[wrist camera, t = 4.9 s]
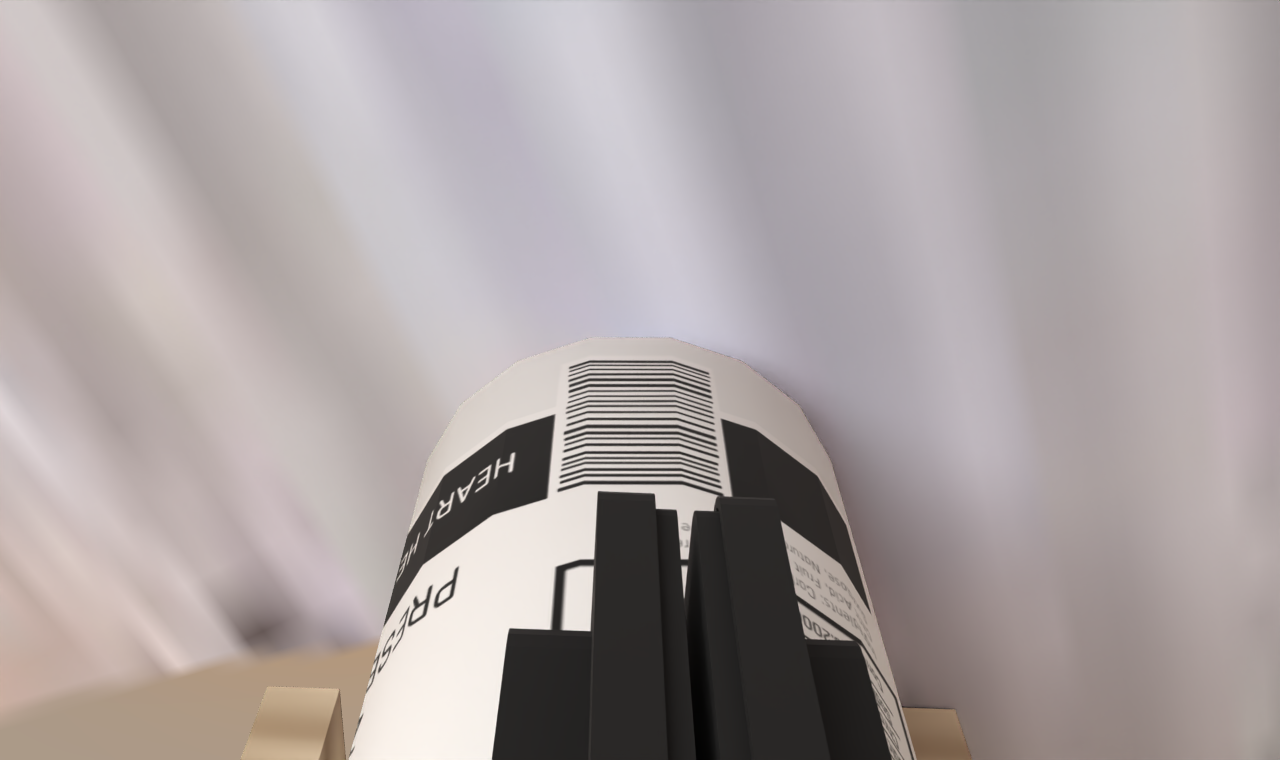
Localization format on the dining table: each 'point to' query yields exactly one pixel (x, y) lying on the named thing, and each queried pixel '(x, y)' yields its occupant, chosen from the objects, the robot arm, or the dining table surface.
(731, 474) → the supplement can
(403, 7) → the dining table surface
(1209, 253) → the dining table surface
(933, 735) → the rail cradle
